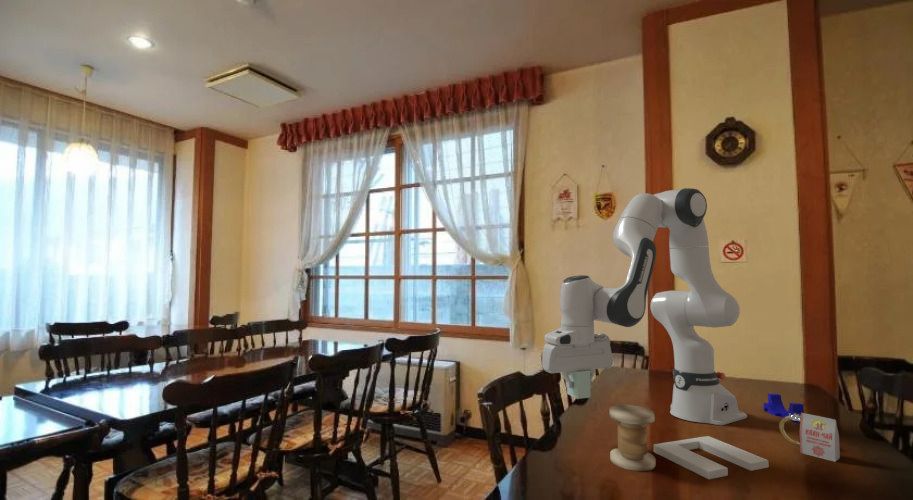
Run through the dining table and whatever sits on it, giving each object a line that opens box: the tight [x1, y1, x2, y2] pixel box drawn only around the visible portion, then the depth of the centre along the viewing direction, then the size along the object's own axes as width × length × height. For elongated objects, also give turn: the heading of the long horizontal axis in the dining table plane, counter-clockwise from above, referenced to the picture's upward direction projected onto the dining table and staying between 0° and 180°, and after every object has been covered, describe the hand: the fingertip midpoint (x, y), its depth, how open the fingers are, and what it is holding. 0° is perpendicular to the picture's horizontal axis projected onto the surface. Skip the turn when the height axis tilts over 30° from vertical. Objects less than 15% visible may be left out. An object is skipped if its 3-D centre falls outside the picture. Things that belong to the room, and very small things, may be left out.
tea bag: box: [799, 412, 841, 463], centre depth 107 cm, size 4×7×10 cm, turn 37°
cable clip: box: [763, 393, 805, 424], centre depth 137 cm, size 12×4×6 cm, turn 175°
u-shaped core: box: [653, 435, 770, 480], centre depth 105 cm, size 18×16×2 cm
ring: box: [778, 413, 801, 445], centre depth 115 cm, size 7×3×8 cm, turn 28°
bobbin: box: [609, 404, 657, 472], centre depth 105 cm, size 10×10×12 cm
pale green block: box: [566, 370, 592, 400], centre depth 119 cm, size 4×5×7 cm
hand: (578, 386), depth 119 cm, fingers closed on pale green block, 4 cm apart
